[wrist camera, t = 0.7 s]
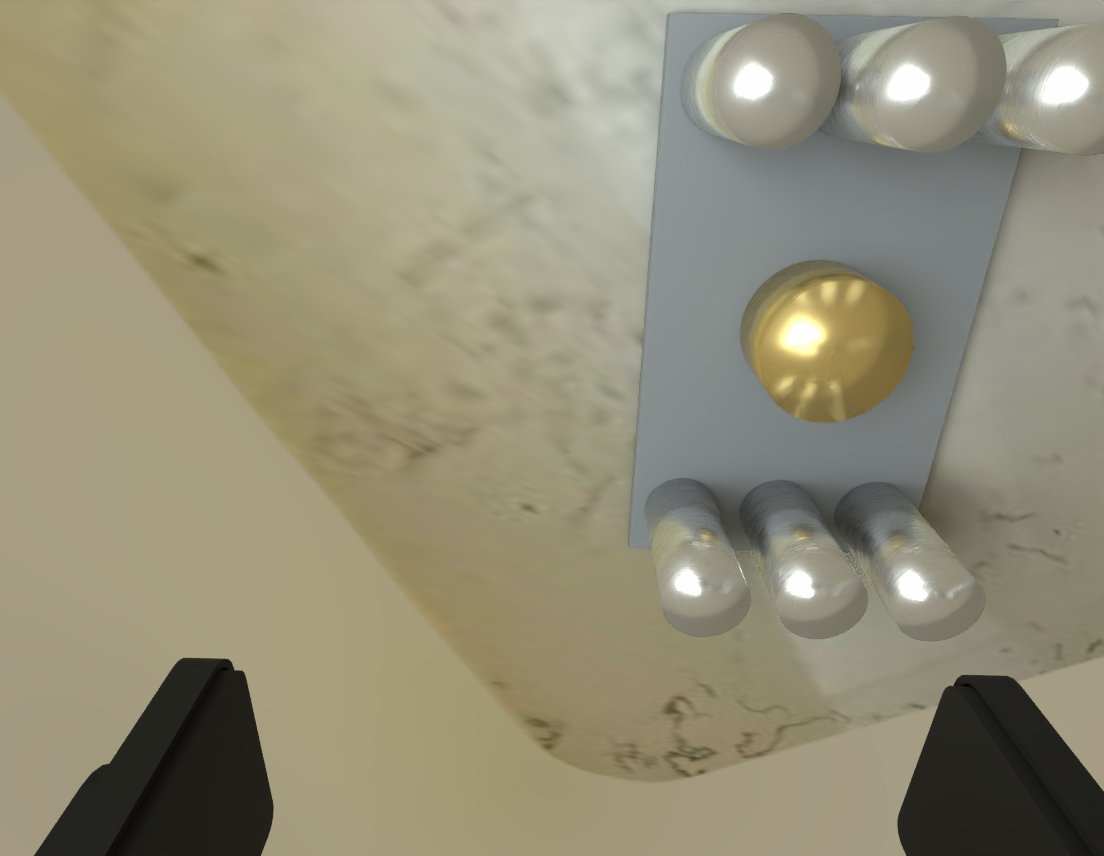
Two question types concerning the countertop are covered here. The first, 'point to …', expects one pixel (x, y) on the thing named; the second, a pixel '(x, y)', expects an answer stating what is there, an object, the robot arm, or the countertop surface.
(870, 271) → the plate
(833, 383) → the gold rounded lump
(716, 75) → the steel spacers
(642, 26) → the countertop surface
